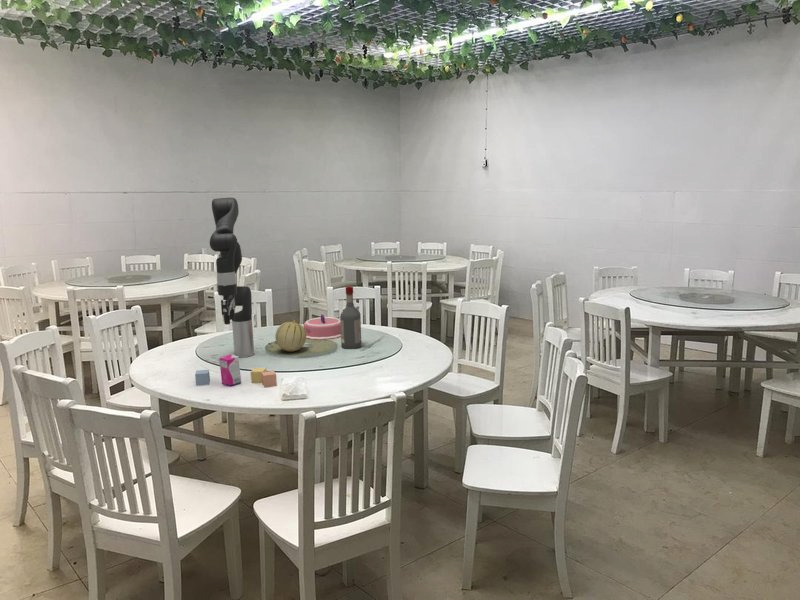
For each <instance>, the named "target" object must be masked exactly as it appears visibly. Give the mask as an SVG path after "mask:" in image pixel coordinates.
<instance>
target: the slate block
mask: <svg viewBox="0 0 800 600" xmlns="http://www.w3.org/2000/svg"><path fill="white" fill-rule="evenodd" d="M194 375H195V377H194V379H195V385H196V387H198V385H199V386H208V385H210V382H211V379H210V378H211V377H210V369H201V370H200V369H199V370H196V371H195V374H194Z"/></svg>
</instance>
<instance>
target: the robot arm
mask: <svg viewBox="0 0 800 600" xmlns="http://www.w3.org/2000/svg"><path fill="white" fill-rule="evenodd" d="M239 209H240V208H239V203H238V200H237V199H236V198H235V197H221V198H220V197H218V198H214V199H212V201H211V210H212V215H213V216H212V217H213V221H214V223H215V224H214V225H215V230H214V231H213V233H212V234H211V236H210V237H209V247H210V249H212V251H214V252H219V253H220V254H219V255H220V257H218V258H216V261H215V265H216V266H215V267H216V285H217V287H216V288H217V295H218V296H221V297H222V299H220V309H221V316H223V322H224V325H230V324H231V326H232V339H233V351H234V353H233V355H234V356H238V357H239V358H247V357H252V356H255V343H254V330H253V328H254V327H253V315H252V314H253V313H252V312H253V309H252V307H253V305H252V304H253V303H252V302H253V300H252V299H253V298H252V291H251V288H250V287H249V286H248V285H247V286H246V285H244V286H243V285H242V286H239V285H238V286H237V277H236V274H237V273H238V270H239V268H240V267H241V264H242V263H243V261H242V260H243V255H242V254H243V253H242V248H241V245H240V243H239V242H238V237H237V236H236V235H235V234H234V229H235V228H234V226H235V224H236V222H237V220H238V218H239ZM241 306H242V307H241ZM236 307H241V310H240V311H237V312H235V309H236Z"/></svg>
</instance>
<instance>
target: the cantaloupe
mask: <svg viewBox="0 0 800 600" xmlns="http://www.w3.org/2000/svg"><path fill="white" fill-rule="evenodd" d="M274 335H275V338H274V339H275V342H276V344H277V346H278V347H279V348H280V349H281V350H283V351H285V352H287V353H288V352H296V351H298V350H301V348H303V346H304V345H305V343H306V340H307V339H306V331H305V329H304V325H302V324H300V323H298V322H296V320H295V319H293V321H285V322H283V323H281V324H280V325H279V326H278V327H277V329H276V331H275V334H274Z"/></svg>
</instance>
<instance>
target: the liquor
mask: <svg viewBox="0 0 800 600" xmlns="http://www.w3.org/2000/svg"><path fill="white" fill-rule="evenodd" d="M345 295H346V299H345V300H346V305H345V307H344V309H343V310H342V312H341V313H340V314H339V315H340V316H339V319H340V324H341V337H340V343H341V348H342V349H344V350H356V349H359V348H361V346H362V323H361V321H362V320H361V318H362V317H361V313H360V311H359V309H357V308H356V306H355V304H354V296H353V295H354V286H346V287H345Z"/></svg>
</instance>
